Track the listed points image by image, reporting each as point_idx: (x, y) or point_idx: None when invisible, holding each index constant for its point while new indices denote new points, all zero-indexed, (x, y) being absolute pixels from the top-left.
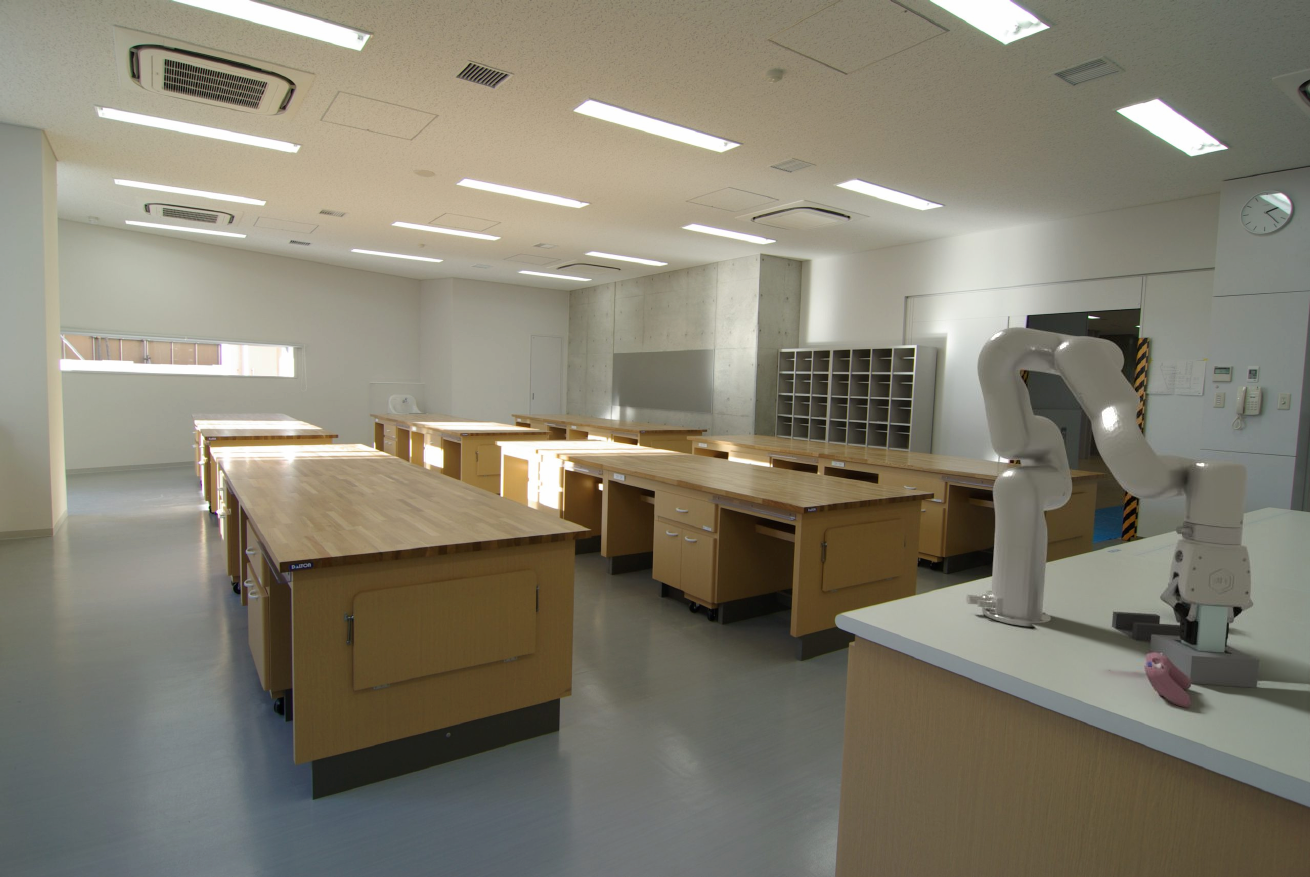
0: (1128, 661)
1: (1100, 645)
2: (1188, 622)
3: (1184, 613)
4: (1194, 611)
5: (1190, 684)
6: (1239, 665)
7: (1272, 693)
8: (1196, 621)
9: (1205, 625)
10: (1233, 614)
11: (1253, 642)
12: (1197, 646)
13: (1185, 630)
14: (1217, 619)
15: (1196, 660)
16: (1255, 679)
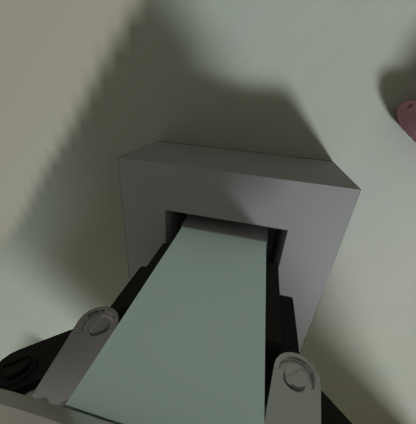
0: (366, 293)
1: (338, 365)
2: (290, 351)
3: (324, 412)
4: (285, 414)
5: (408, 102)
6: (185, 160)
7: (142, 107)
8: (268, 345)
9: (239, 311)
10: (63, 345)
11: (23, 333)
12: (265, 253)
13: (292, 320)
14: (171, 329)
15: (334, 181)
16: (153, 146)
